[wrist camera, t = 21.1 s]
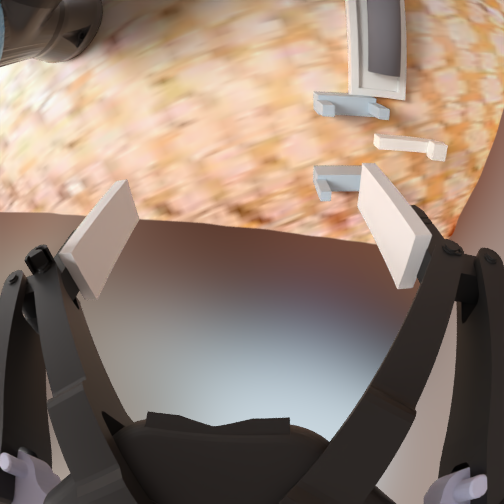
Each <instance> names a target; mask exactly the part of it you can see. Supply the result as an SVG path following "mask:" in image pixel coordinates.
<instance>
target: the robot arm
mask: <svg viewBox="0 0 504 504" xmlns="http://www.w3.org/2000/svg"><path fill="white" fill-rule="evenodd" d="M101 18H102V3H101V0H0V67H2V66H6V65H9V64H12V63H16V62H19V61H23V60H27V59H31V58H34V59H37V60H41V61H44V62H48V63H57V62H62V61H66V60H69V59H71V58H73V57H75V56H77V55H78V54H80V53H81V52H82V51H83V50H84V49H85V48H86V47H87V46H88V45H89V44H90V42H91V41H92V39H93V38H94V36H95V35H96V33H97V31H98V28H99V25H100V22H101ZM357 207H358V209H359V210H360V212H361V214H362V216H363V218H364V220H365V222H366V224H367V226H368V227H369V229H370V231H371V233H372V235H373V237H374V239H375V241H376V243H377V245H378V247H379V250H380V252H381V254H382V256H383V258H384V260H385V262H386V264H387V266H388V269H389V271H390V273H391V275H392V277H393V280H394V282H395V284H396V287H397V289H404V288H412V287H413V286H414V283H415V280H416V278H418V280H419V282H420V286H419V289H418V291H417V293H416V296H415V298H414V300H413V303H412V305H411V307H410V309H409V312H408V314H407V316H406V318H405V320H404V322H403V324H402V326H401V328H400V330H399V332H398V334H397V336H396V338H395V340H394V342H393V344H392V346H391V348H390V350H389V352H388V354H387V355H386V357H385V359H384V361H383V363H382V364H381V366H380V368H379V369H378V371H377V373H376V374H375V376H374V378H373V379H372V381H371V383H370V385H369V386H368V388H367V389H366V391H365V393H364V394H363V396H362V397H361V399H360V400H359V402H358V403H357V405H356V406H355V408H354V409H353V411H352V412H351V414H350V415H349V417H348V418H347V419H346V421H345V422H344V424H343V425H342V426H341V428H340V429H339V430H338V432H337V433H336V434H335V436H334V437H333V438H332V440H331V441H330V442H329V441H328V440H326V439H325V438H323V437H322V436H321V435H319V434H317V433H315V432H313V431H311V430H309V429H306V428H303V427H299V426H295V425H290V418H268V419H250V420H245V421H241V422H236V423H232V424H227V425H221V426H210V425H207V424H203V423H200V422H197V421H194V420H191V419H188V418H185V417H183V416H180V415H171V414H163V413H155V412H148V413H147V418H146V419H145V420H141V421H137V422H133V421H132V420H131V419H130V417H129V416H128V415H127V413H126V412H125V410H124V408H123V406H122V404H121V402H120V400H119V398H118V396H117V394H116V392H115V390H114V388H113V386H112V384H111V382H110V379H109V377H108V375H107V373H106V371H105V368H104V366H103V364H102V361H101V359H100V356H99V354H98V352H97V349H96V347H95V344H94V342H93V339H92V336H91V334H90V331H89V328H88V325H87V323H86V320H85V317H84V314H83V311H82V308H81V305H80V302H79V300H78V299H77V297H76V296H77V294H78V292H79V291H80V292H81V294H82V296H83V297H84V299H88V300H89V299H90V300H97V299H98V297H99V295H100V292H101V291H102V288H103V286H104V284H105V282H106V280H107V278H108V276H109V274H110V272H111V270H112V268H113V266H114V264H115V263H116V261H117V259H118V257H119V255H120V253H121V251H122V249H123V247H124V246H125V244H126V242H127V240H128V238H129V237H130V235H131V233H132V231H133V229H134V227H135V226H136V224H137V222H138V221H139V216H138V213H137V210H136V207H135V204H134V200H133V197H132V194H131V191H130V187H129V184H128V180H127V179H126V180H120V181H116V182H115V183H114V184H113V185H112V186H111V188H110V189H109V190H108V191H107V192H106V193H105V194H104V196H103V197H102V198H101V199H100V200H99V202H98V203H97V204H96V205H95V206H94V208H93V209H92V210H91V211H90V213H89V214H88V215H87V216H86V218H85V219H84V220H83V222H82V223H81V224H80V225H79V227H78V228H77V229H75V230H74V231H73V232H72V234H71V235H70V236H69V237H68V239H67V241H66V242H65V243H64V245H63V246H62V247H61V248H60V250H59V251H58V253H57V254H56V256H55V257H54V258H53V257H52V255H51V253H50V251H49V249H48V247H47V245H39V246H38V247H35V248H34V249H33V250H31V251H30V252H29V253H28V255H27V256H26V258H25V262H26V264H27V266H28V267H29V269H30V271H31V272H32V274H33V275H32V276H29V277H25V275H24V273H23V272H22V271H21V270H18V271H15V272H13V273H11V275H9V276H8V278H7V279H6V281H5V283H4V286H3V289H2V293H1V296H0V504H396V503H395V502H394V501H393V500H391V499H390V498H389V497H388V496H387V495H385V494H384V493H383V492H382V491H381V490H380V489H379V488H378V487H376V486H375V485H376V484H377V482H378V481H379V479H380V478H381V476H382V475H383V473H384V472H385V470H386V469H387V467H388V465H389V464H390V462H391V461H392V459H393V458H394V456H395V454H396V453H397V451H398V449H399V447H400V446H401V444H402V442H403V440H404V439H405V437H406V435H407V433H408V431H409V429H410V427H411V425H412V423H413V421H414V419H415V417H416V410H415V407H416V404H417V402H418V400H419V398H420V396H421V394H422V391H423V389H424V387H425V385H426V382H427V380H428V377H429V375H430V373H431V370H432V368H433V365H434V362H435V360H436V357H437V355H438V352H439V349H440V346H441V343H442V340H443V337H444V334H445V331H446V328H447V325H448V321H449V318H450V315H451V311H452V308H453V304H454V301H456V302H457V349H456V365H455V378H454V387H453V396H452V403H451V410H450V416H449V422H448V427H447V432H446V438H445V442H444V446H443V451H442V456H441V461H440V468H439V476H438V480H436V481H435V482H434V483H433V484H432V485H431V486H430V488H429V490H428V492H427V493H426V494H425V496H424V504H504V265H503V262H502V260H501V258H500V257H499V255H498V254H497V253H496V252H494V251H493V250H491V249H488V248H481V249H480V250H479V251H478V254H477V256H471V255H467V254H464V251H463V249H462V248H461V247H460V246H459V245H458V244H457V243H455V242H453V241H451V240H448V239H444V238H443V237H442V235H441V234H440V232H439V231H438V230H437V228H436V227H435V226H434V224H432V222H431V220H430V219H428V217H427V215H426V214H425V213H424V211H422V210H421V209H420V208H418V207H417V206H415V205H410V204H409V203H408V202H407V201H406V199H405V198H404V197H403V196H402V194H401V193H400V192H399V191H398V189H397V188H396V187H395V186H394V185H393V183H392V182H391V181H390V180H389V179H388V178H387V176H386V175H385V174H384V173H383V172H382V171H381V170H380V168H379V167H378V166H377V165H376V164H375V163H362V171H361V180H360V189H359V197H358V205H357ZM23 314H24V315H25V318H24V316H23ZM46 371H47V375H48V379H49V383H50V387H51V391H52V394H53V398H51V399H49V400H48V402H47V399H46ZM47 409H48V412H49V416H50V419H51V422H52V425H53V428H54V431H55V435H56V437H57V440H58V443H59V446H60V448H61V451H62V454H63V456H64V459H65V461H66V463H67V466H68V468H69V470H70V473H71V474H69V475H68V476H67V477H66V478H65V479H64V480H62V481H60V478H59V477H58V475H56V474H54V473H53V471H52V455H51V453H52V452H51V442H50V433H49V425H48V414H47Z"/></svg>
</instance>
